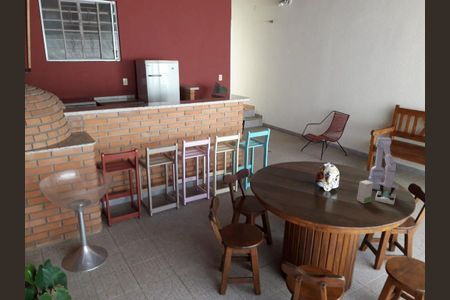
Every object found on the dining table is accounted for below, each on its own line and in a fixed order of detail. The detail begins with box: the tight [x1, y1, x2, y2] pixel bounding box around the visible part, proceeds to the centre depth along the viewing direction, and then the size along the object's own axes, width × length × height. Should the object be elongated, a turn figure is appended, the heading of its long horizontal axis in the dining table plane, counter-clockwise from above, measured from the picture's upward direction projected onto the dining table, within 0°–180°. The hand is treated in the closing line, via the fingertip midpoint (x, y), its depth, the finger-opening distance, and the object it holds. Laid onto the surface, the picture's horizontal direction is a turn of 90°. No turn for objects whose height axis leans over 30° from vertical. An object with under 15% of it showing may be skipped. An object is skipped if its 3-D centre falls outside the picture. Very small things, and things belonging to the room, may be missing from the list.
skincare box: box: [356, 179, 373, 204], centre depth 237 cm, size 8×7×16 cm
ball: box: [381, 190, 390, 198], centre depth 241 cm, size 5×5×5 cm
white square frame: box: [374, 190, 396, 206], centre depth 242 cm, size 13×13×3 cm
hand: (385, 195), depth 241 cm, fingers closed on ball, 5 cm apart
